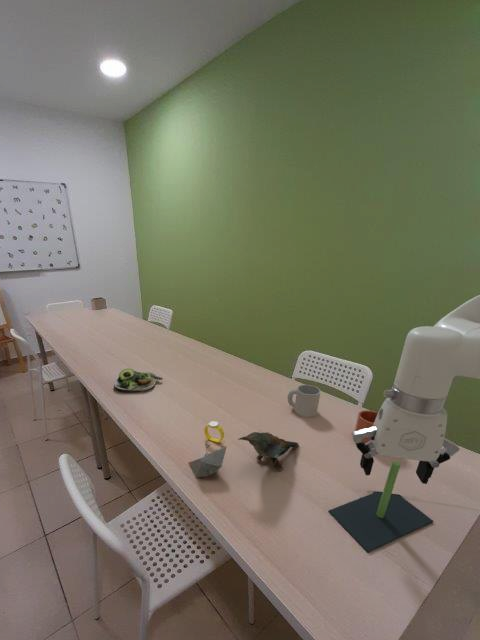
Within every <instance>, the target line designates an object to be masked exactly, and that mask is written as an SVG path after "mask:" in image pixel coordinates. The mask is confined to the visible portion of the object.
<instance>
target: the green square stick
mask: <svg viewBox="0 0 480 640" xmlns="http://www.w3.org/2000/svg"><path fill="white" fill-rule="evenodd" d="M400 469H401V463H400V462H399V461H397V460H392V461H391V464H390V468H389V470H388V474H387V478H386V481H385V484H384V487H383V490H382V492H383V493H382V497H381V500H380V503H379V506H378V510H377V513H376V515H377V516H378V517H379V518H384V515H385V512H386V509H387V506H388V503H389V500H390V496H391V493H392V494H393V490H394V486H395V484H396V480H397V478H398V475H399V471H400Z"/></svg>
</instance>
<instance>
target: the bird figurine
mask: <svg viewBox="0 0 480 640" xmlns="http://www.w3.org/2000/svg"><path fill="white" fill-rule="evenodd" d="M238 440H243V441H247V442H249V444H250V445H251V446H253V449H254V450H255V451H256V453H257V454H258V455H257V457H256V460H257V461H258V462H262V459H263V458H268V459H269V460H270V461H271V463H272V464H271V465H272V466H273V468H275V469H276V471H277V472H281V471H282V470H284V467H283V466H282V464H281V462H280V461H279V459H278V458H279V457H281V456H283V455H285V454H286V453H287V452H288V450H289V449H291V448H292V449H295V448H297V447H299V446H300V445H299V443H298V442H296V441H288V440H285V439H283V438H280V437H279V436H276V435H273V434H272V433H270V432H259V431H254V432H251V433H249V434H247V435H246V436H242V437H239V438H237V441H238Z"/></svg>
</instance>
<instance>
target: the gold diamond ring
mask: <svg viewBox="0 0 480 640" xmlns="http://www.w3.org/2000/svg"><path fill="white" fill-rule="evenodd" d="M219 424H220V423H219V422H218V421H215V420H214V421H213V420H212V421H209V423H208V424H206V425H205V427H204V429H203V432H204V435H205V438H206V439H208V440H209V441H210V442H214V443H217V444H219V443H221V442H222V441H223V439H224V437H225V432H224V430H223V428H222V426H221V425H219ZM208 428H211V429H216V430H218V432H219V433H220V438H215V437H213V436H211V434H210V433H209V430H208Z"/></svg>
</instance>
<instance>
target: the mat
mask: <svg viewBox="0 0 480 640" xmlns="http://www.w3.org/2000/svg"><path fill="white" fill-rule="evenodd" d="M382 493H383V491H379V490H378V491H374V492H372V493H370V494H367V495H365V496H362V497H360V498H357V499H355V500H352V501H349V502H346V503H344V504H342V505H341V504H340V505H339V506H337V507H333V508H331V509H329V510H328V513H329V514H330V515H331V516H332V517H333V518H334V519H335V520H336V521H337V522H338V524H339V525H340V526H341V527H342V528H343V529H344V530H345V531H346V532H347V533H348V534H349V535H350V536H351V537H352V538H353V539H354V540H355V541H356V542H357V543H358V544H359V545H360V547H362V548H363V549H364V551H365V552H366V553H367V554H368V553H370V552H372V551H375V550H377V549H379V548H381V547H383V546H385V545H387V544H390V543H392V542H394V541H396V540H398V539H400V538H402V537H405V536H407V535H408V534H411V533H413V532H415V531H418V530H419V529H422V528H424V527H426V526H428V525H429V524H432V523H434V520H433V518H431V517H429V516H427V514H425V513H424V512H423V511H421V510H420V509H419V508H417V507H416V506H415V505H413V504H412V503H411V502H409V500H407V499H406V498H405V497H403V496H402V495H400V494H397V493H393V492H392V493H391V496H390V500H389V503H388V506H387V509H386V512H385V515H384V518H379V517H378V516H377V515H376V513H377V510H378V506H379V503H380V500H381V497H382Z"/></svg>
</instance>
